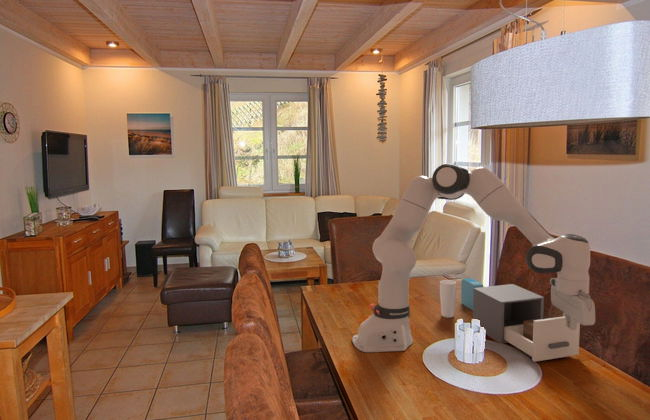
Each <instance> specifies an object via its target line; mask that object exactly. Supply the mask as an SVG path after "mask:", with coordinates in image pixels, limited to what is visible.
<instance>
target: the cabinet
mask: <svg viewBox="0 0 650 420" xmlns="http://www.w3.org/2000/svg"><path fill="white" fill-rule="evenodd" d="M544 308H545V297H544V296H543V295H540V294H539V293H538V294H537V293H535V292H533V291H530V290H528V289H526V288H523V287H521V286H519V285H517V284H513V283H507V284H501V285H490V286H484V287H480V288H474V294H473V311H472V320H473V319H478V320H480V325H481V327H484V328H485V329H486V334H487V335H486V334H485V335H486V336H488V337H489V338H491V339H492V340H494V341H495V342H497V343H499V344H500V343H502V344H507V343H508V344H510V343H509V342H507V341H506V340H504V327H506V326H514V325H522V324H523V322H524V321H526V320H541V319H544V310H545V309H544Z"/></svg>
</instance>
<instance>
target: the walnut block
mask: <svg viewBox="0 0 650 420" xmlns="http://www.w3.org/2000/svg"><path fill="white" fill-rule="evenodd" d="M533 322H534V320H526V321H524V322H523V337H525V338H527V339H529V340H530V341H532V342H533Z"/></svg>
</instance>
